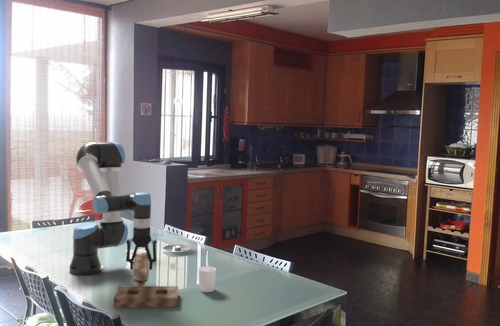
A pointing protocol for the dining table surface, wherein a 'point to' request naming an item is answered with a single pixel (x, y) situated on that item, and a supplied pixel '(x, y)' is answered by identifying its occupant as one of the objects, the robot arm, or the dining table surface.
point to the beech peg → (141, 269)
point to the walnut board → (146, 296)
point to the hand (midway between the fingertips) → (141, 276)
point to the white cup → (207, 278)
